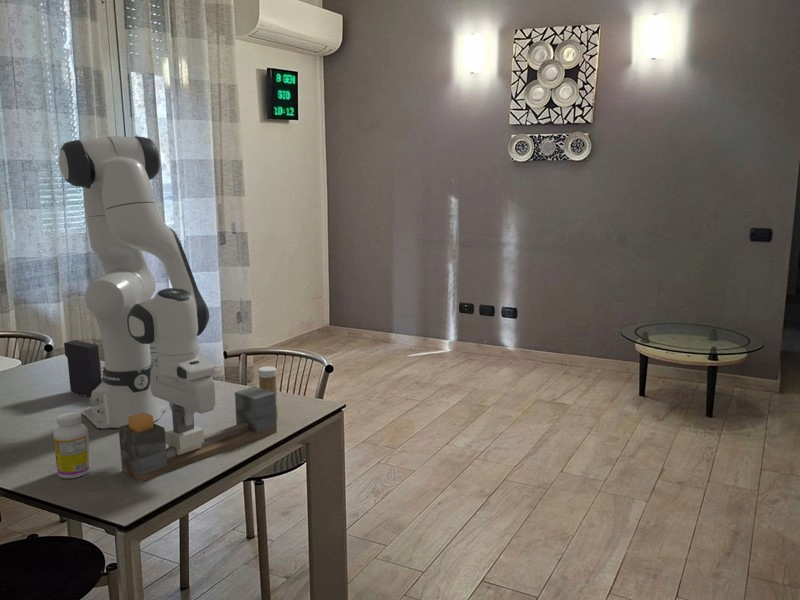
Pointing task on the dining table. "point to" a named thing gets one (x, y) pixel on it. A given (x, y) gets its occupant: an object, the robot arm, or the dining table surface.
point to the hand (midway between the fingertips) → (183, 422)
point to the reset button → (140, 422)
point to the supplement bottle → (71, 446)
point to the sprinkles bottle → (268, 381)
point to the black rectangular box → (83, 366)
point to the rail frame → (253, 420)
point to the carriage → (183, 433)
